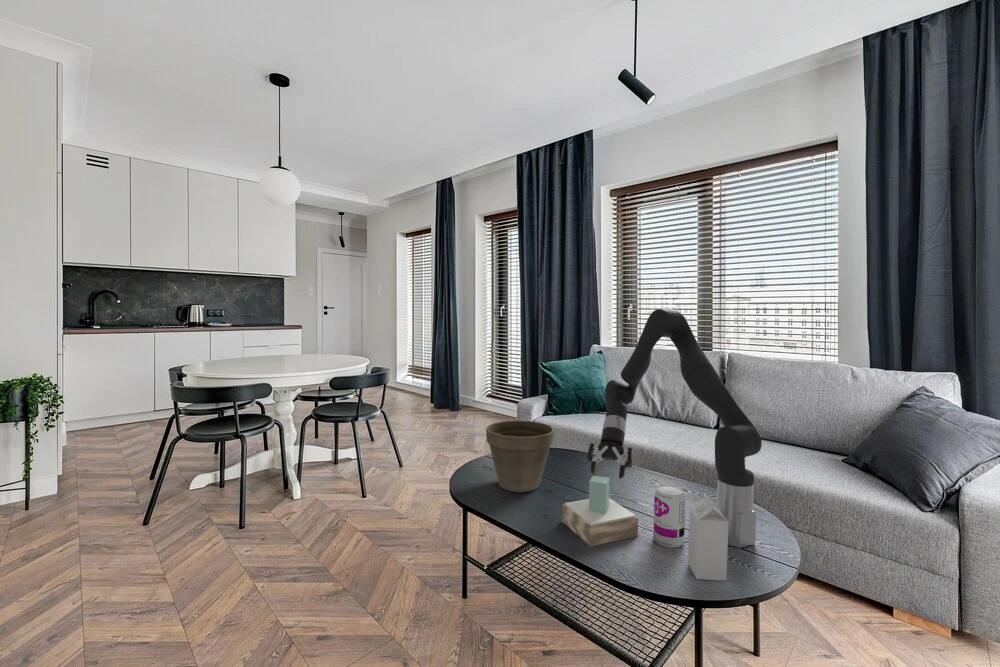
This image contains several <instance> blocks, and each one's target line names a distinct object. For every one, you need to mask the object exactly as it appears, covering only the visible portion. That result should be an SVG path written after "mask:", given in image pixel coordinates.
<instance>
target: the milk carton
mask: <svg viewBox="0 0 1000 667" xmlns="http://www.w3.org/2000/svg"><path fill="white" fill-rule="evenodd" d="M688 522H689V523H688V526H689V527H688V528H689V529H688V559H687V560H688V562H687V564H688V566H689V568H690V570H691V572H692V573H693V574H692V575H693V576H694V577H695V579H696V580H706V581H725V582H726V581H727V574H728V573H727V571H728V569H727V568H728V546H729V545H728V521H727V519H726V518H725V517H724V516H723V515H722V513H721V512H720V511H719V510H718V509H717V506H715V504H714V503H713V501H712V500H711V499H710V497H709V496H707V494H706V493H703V497H702V498H701V499H700V500H698V501H697V502H696V503H694V504H693V505H691V507H689V521H688Z"/></svg>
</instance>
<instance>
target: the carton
mask: <svg viewBox="0 0 1000 667" xmlns="http://www.w3.org/2000/svg"><path fill="white" fill-rule="evenodd" d="M588 483H589V484H588V485H589V486H588V488H589V489H588V499H589V511H592V512H598V513H604V514H606V512H607V510H608V508H609V498H610V483H611V482H610V477H605V476H599V475H592V477H591V478H590V479H589V482H588Z"/></svg>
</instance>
